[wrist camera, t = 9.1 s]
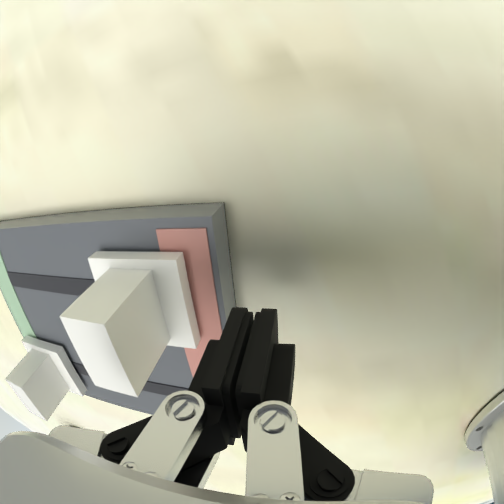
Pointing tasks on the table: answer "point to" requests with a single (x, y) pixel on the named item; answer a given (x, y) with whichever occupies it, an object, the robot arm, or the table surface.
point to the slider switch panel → (81, 278)
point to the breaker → (44, 377)
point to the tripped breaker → (131, 316)
